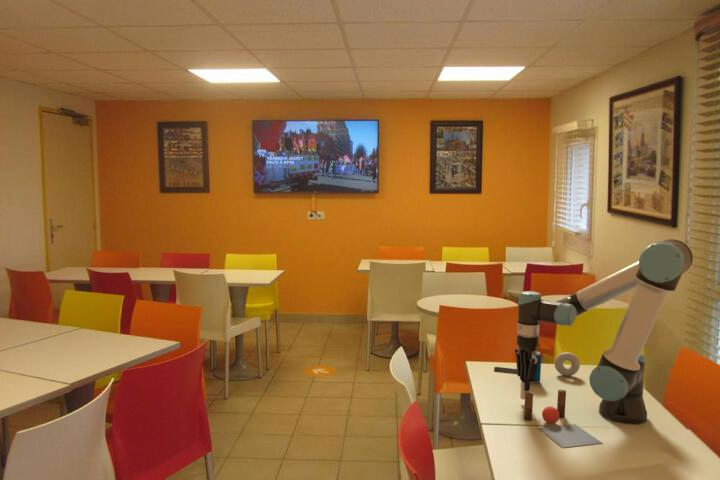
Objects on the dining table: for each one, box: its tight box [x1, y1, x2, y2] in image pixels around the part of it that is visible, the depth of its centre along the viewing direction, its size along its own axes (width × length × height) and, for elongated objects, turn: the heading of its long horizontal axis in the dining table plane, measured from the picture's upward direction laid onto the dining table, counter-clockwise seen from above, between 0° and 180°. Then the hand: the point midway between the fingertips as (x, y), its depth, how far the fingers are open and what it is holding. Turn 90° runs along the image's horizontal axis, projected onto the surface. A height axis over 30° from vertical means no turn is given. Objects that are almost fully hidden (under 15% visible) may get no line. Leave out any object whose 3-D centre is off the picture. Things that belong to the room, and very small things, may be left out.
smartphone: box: [493, 366, 517, 375], centre depth 244 cm, size 7×1×14 cm
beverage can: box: [530, 350, 542, 385], centre depth 231 cm, size 6×6×12 cm
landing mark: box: [537, 423, 603, 449], centre depth 183 cm, size 14×14×1 cm
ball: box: [541, 405, 560, 424], centre depth 192 cm, size 6×6×6 cm
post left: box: [523, 391, 534, 422], centre depth 194 cm, size 3×3×9 cm
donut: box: [554, 351, 581, 377], centre depth 239 cm, size 10×4×10 cm, turn 75°
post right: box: [556, 389, 567, 419], centre depth 198 cm, size 3×3×9 cm
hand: (524, 398), depth 209 cm, fingers closed
